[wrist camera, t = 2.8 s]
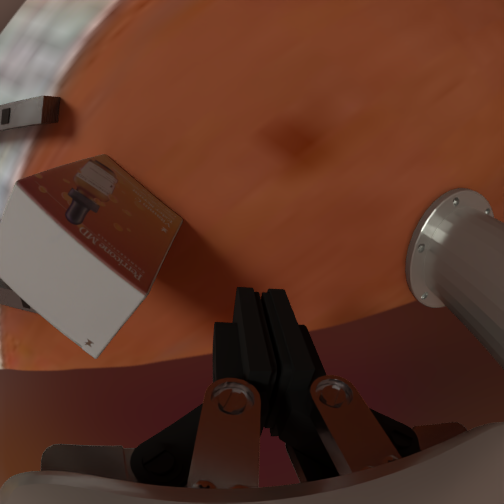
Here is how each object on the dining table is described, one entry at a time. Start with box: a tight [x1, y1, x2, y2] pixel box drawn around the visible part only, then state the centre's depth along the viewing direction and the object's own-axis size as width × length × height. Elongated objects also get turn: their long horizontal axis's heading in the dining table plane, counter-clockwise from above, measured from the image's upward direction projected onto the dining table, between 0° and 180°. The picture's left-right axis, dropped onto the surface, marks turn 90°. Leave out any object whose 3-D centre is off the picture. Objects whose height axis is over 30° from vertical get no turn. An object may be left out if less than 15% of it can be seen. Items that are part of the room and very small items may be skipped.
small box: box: [0, 154, 183, 359], centre depth 15 cm, size 8×6×10 cm
